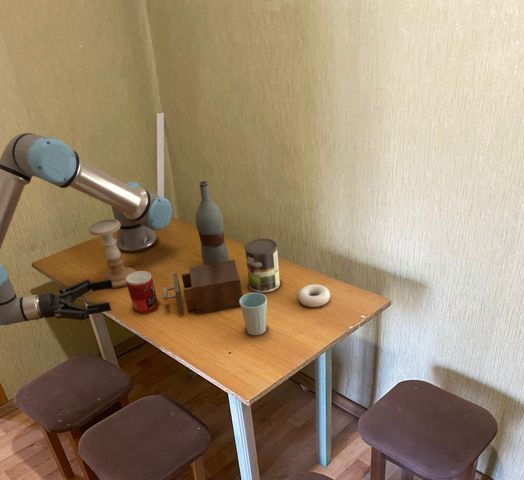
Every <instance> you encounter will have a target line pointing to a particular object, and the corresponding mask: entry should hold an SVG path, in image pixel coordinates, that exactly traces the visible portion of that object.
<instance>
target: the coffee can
mask: <svg viewBox="0 0 524 480" xmlns="http://www.w3.org/2000/svg"><path fill="white" fill-rule="evenodd" d="M244 252H245V259H246V268H247V276H248V287H249V289H250V290H251V291H253V292H254V293H261V294H263V293H264V294H265V293H270V292H273V291H275V290H277V289H278V288H279V287H280V284H281V281H280V269H279V254H278V242H276V241H275V240H273V239H270V238H255V239H253V240H250V241H248V242H247V243H246V244H245V245H244Z"/></svg>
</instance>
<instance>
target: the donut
mask: <svg viewBox="0 0 524 480" xmlns="http://www.w3.org/2000/svg"><path fill="white" fill-rule="evenodd" d="M330 298H331V293H330V290H329V289H328V287H326V286H324V285H322V284H316V283H315V284H314V283H313V284H308V285H304V286H303V287H302V288H300V289H299V291H298V293H297V299H298V301H299V302H300V304H302V305H303V306H305V307H309V308H316V307H317V308H318V307H321V306H324V305H325V304H327V303H328V302H329V301H330Z"/></svg>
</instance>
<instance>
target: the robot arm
mask: <svg viewBox="0 0 524 480" xmlns="http://www.w3.org/2000/svg"><path fill="white" fill-rule="evenodd" d="M33 177H36V178H38V179H40V180H42V181H45V182H47V183H50V184H52V185H54V186H56V187H58V188H60V189H67V188H69V187H70V188H72V189H74V190H76V191H79V192H81V193H83V194H85V195H87V196H89V197H92V198H93V199H95V200H98V201H100V202H102V203H103V204H105V205H108V206H110V207H111V210H112V214H113V217H114V218H113V219H115V220H118V221H119V222H120V223H121V227H120V229H118V230H117V231H116V240H117V242H116V245H117V247H118V249H119V250H120V252H124V253H139V252H142V251H145V250H148V249H150V248H152V247H153V246H155V244H157V241H158V239H157V235H156V233H155V231H162V230H164V228H166V227H167V226H168V225H169V224H170V222H171V220H172V217H173V209H172V207H173V206H172V204H171V202H170V200H168V198H166V197H164V196H160V195H158V194H155V193H154V192H152V191H149V190H147V189H146V188H143V187H141V186H140V184H139V183H138V182H137V181H128V182H123V181H121V180H119V179H118V178H115V177H113V176H111V175H109V174H107V173H106V172H104V171H102V170H101V169H98V168H97V167H94V166H92V165H90V164H89V163H87V162H85V161H84V160H82V159H81V158H80V155H79V153H78V152H77V151H75V150H73V149H72V148H71V147H70V146H69V145H68V144H66V143H65V142H63V140H62V141H61V140H60V139H58V138H54V137H49V136H43V135H39V134H35V133H32V132H23V133H22V132H21V133H18V134H17V135H15V136H13V138H11V139H10V140H9V142H8V143H7V145H6V146H5V148H4V150H3V151H2V153H1V156H0V250H1V248H2V246H3V244H4V240H5V238H6V235H7V233H8V231H9V228H10V224H11V222H12V221H13V218H14V215H15V212H16V210H17V207H18V205H19V201H20V199H21V196H22V194H23V191H24V189H25V186H27V185H30V183H31V180H32V178H33ZM109 289H114V288H113V285H112V282H111V280H105V281H102V280H99V281H93V282H91V280H90V279H84V280H83V281H82V280H81V281H80V282H76V283H74V284H71V285H69V286H67V287H63V288H59V289H58V293H59V294H56V295H55V294H54V293H53V292H50V291H49V292H43V293H40V294H32V295H25V296H20V297H18V296H17V293H16V291H15V289H14V286H13V284H12V283H11V279H10V277H9V274H8V272H7V270H6V269H5V266H4V265H3V264H2V263H1V262H0V326H10V325H12V324H18V323H19V324H20V323H25V322H30V321H39V320H42V319H44V318H45V319H49V318H55V319H57V320H58V319H59V320H60V319H69V320H78V321H86V320H87V319H90V315H94V314H101V313H105V312H111V311H112V308H111V305H110V301H105V302H100V303H94V304H93V303H92V304H88V305H86V307H85V306H82V305H78V304H75V303H74V302H75V301H76V300H77V299H78V298H79V297H82V296H83V295H85V294H87V293H88V292H90V291H92V292H97V291H102V290H109Z"/></svg>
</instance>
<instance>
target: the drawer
mask: <svg viewBox="0 0 524 480" xmlns="http://www.w3.org/2000/svg"><path fill="white" fill-rule="evenodd" d="M172 274H173V275H172V276H173V283H174V284H173V285H174V286H171V287H166V286H164V287H162V298H163V300H164V301H165V302H167V301H168V300H169V299H174V298H176V302H177V306H178V311H179V314H183V313H185V312H184V304H183V295H184V300H185V305H186V310H187V311H189V310H190V311H191V310H196V305H195V300H194V295H193V290H192V285H191V278H190V272H185V273H181V275H180V276H181V279H182V282H183V283H182V284H183V289H182V290H183V294H182V290H181V284H180V280H179V276H178V273H177V272H174V273H172ZM173 290H174V293H175V294H172V295H169V293H168V291H173Z"/></svg>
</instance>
